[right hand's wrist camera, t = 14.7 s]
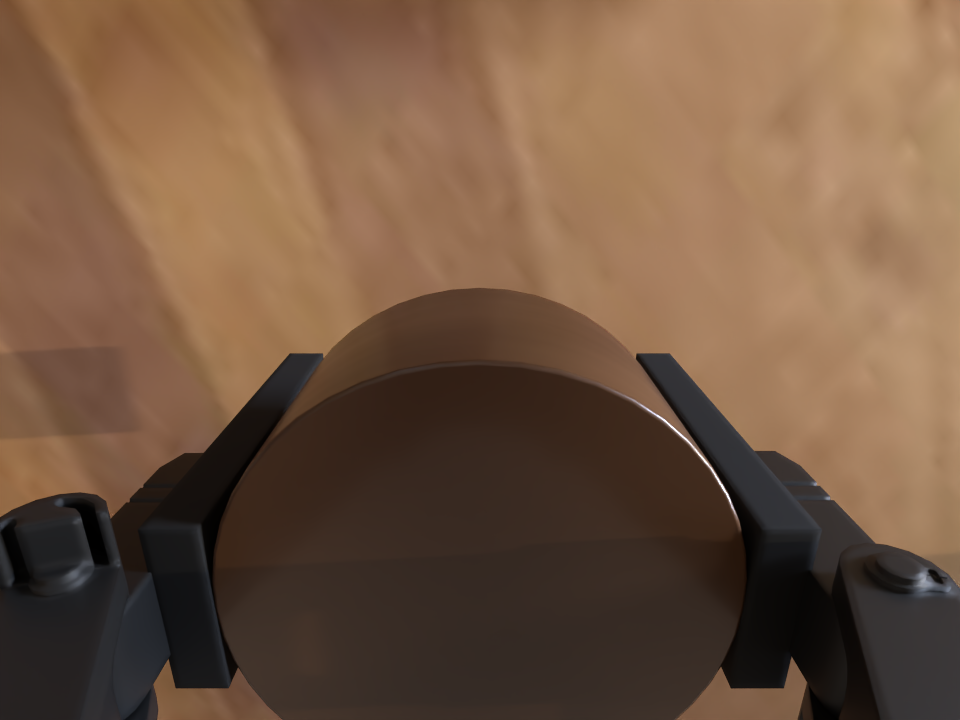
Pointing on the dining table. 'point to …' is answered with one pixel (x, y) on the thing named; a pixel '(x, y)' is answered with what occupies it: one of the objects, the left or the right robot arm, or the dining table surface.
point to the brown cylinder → (479, 528)
